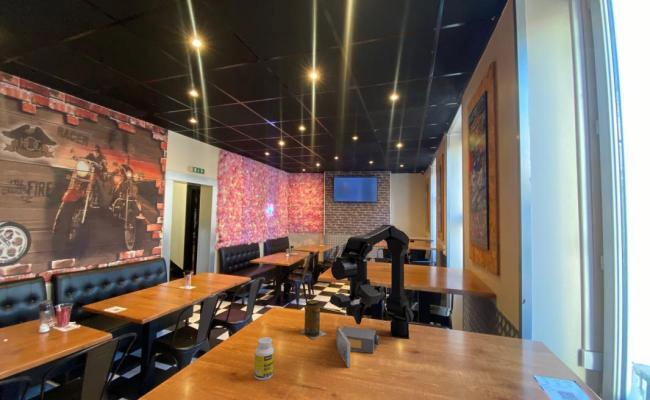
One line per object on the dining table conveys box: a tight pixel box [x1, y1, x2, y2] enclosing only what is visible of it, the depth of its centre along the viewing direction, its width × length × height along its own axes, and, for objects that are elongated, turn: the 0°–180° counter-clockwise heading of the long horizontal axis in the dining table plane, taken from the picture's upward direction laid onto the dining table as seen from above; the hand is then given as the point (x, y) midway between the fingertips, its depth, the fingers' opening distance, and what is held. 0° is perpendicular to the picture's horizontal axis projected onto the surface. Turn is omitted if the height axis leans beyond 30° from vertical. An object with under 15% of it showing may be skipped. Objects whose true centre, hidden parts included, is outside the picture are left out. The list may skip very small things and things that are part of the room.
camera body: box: [336, 325, 380, 354], centre depth 95 cm, size 14×9×7 cm
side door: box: [336, 328, 351, 368], centre depth 86 cm, size 11×2×7 cm, turn 13°
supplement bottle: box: [253, 336, 275, 381], centre depth 77 cm, size 5×5×10 cm
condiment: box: [299, 299, 327, 340], centre depth 105 cm, size 7×8×12 cm
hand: (358, 324), depth 87 cm, fingers closed
